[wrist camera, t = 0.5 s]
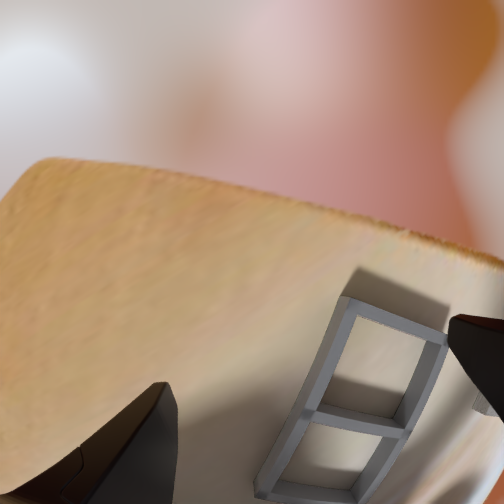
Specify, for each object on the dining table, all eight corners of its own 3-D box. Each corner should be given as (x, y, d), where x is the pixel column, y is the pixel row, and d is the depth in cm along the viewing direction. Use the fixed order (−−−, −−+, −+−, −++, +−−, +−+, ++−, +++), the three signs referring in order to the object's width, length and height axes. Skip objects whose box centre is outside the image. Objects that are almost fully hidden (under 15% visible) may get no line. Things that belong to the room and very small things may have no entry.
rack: (353, 497, 22) (360, 510, 19) (253, 482, 22) (254, 497, 19) (437, 333, 24) (452, 336, 21) (339, 295, 24) (350, 297, 21)
